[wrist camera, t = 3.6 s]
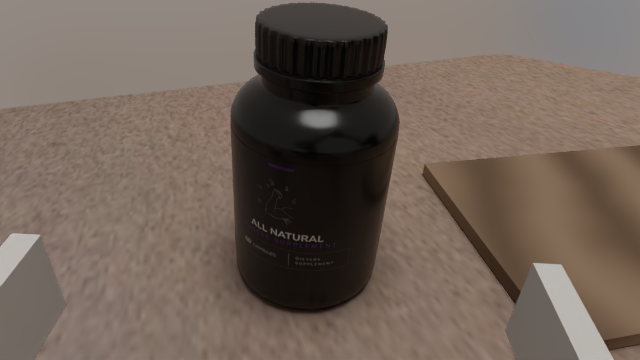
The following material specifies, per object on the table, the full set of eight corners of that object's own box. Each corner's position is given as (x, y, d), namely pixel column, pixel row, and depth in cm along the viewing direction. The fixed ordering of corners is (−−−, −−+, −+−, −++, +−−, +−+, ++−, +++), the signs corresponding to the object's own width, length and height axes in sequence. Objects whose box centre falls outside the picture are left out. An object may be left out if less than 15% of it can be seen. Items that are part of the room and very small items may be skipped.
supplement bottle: (252, 331, 20) (239, 56, 13) (227, 229, 26) (209, -4, 19) (398, 298, 22) (451, 43, 15) (347, 210, 27) (370, -8, 21)
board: (651, 153, 35) (656, 144, 34) (871, 299, 24) (883, 287, 23) (422, 174, 31) (424, 164, 31) (556, 360, 20) (562, 347, 19)
